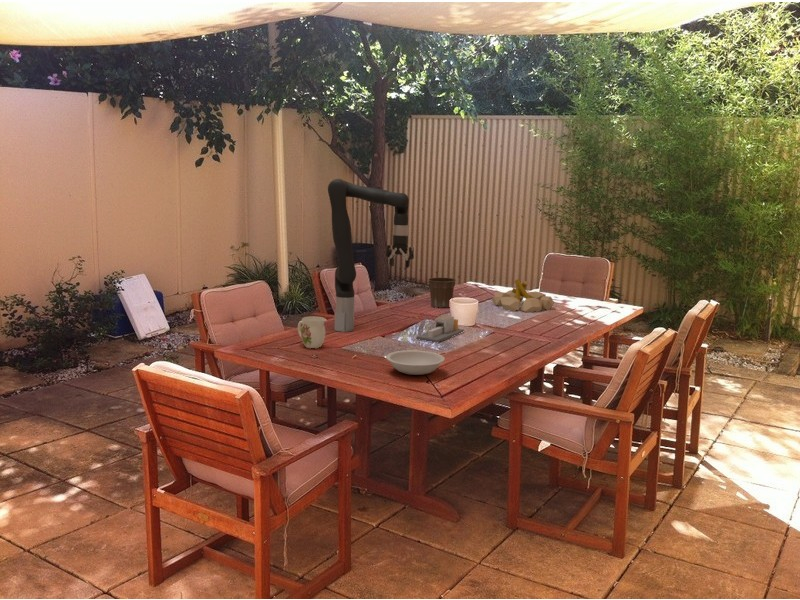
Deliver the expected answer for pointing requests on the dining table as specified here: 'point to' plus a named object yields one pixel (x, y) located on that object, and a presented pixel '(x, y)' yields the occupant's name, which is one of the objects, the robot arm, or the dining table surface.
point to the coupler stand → (440, 333)
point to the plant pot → (441, 291)
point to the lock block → (445, 323)
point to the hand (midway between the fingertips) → (399, 266)
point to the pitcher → (312, 331)
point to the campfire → (515, 296)
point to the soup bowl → (415, 361)
